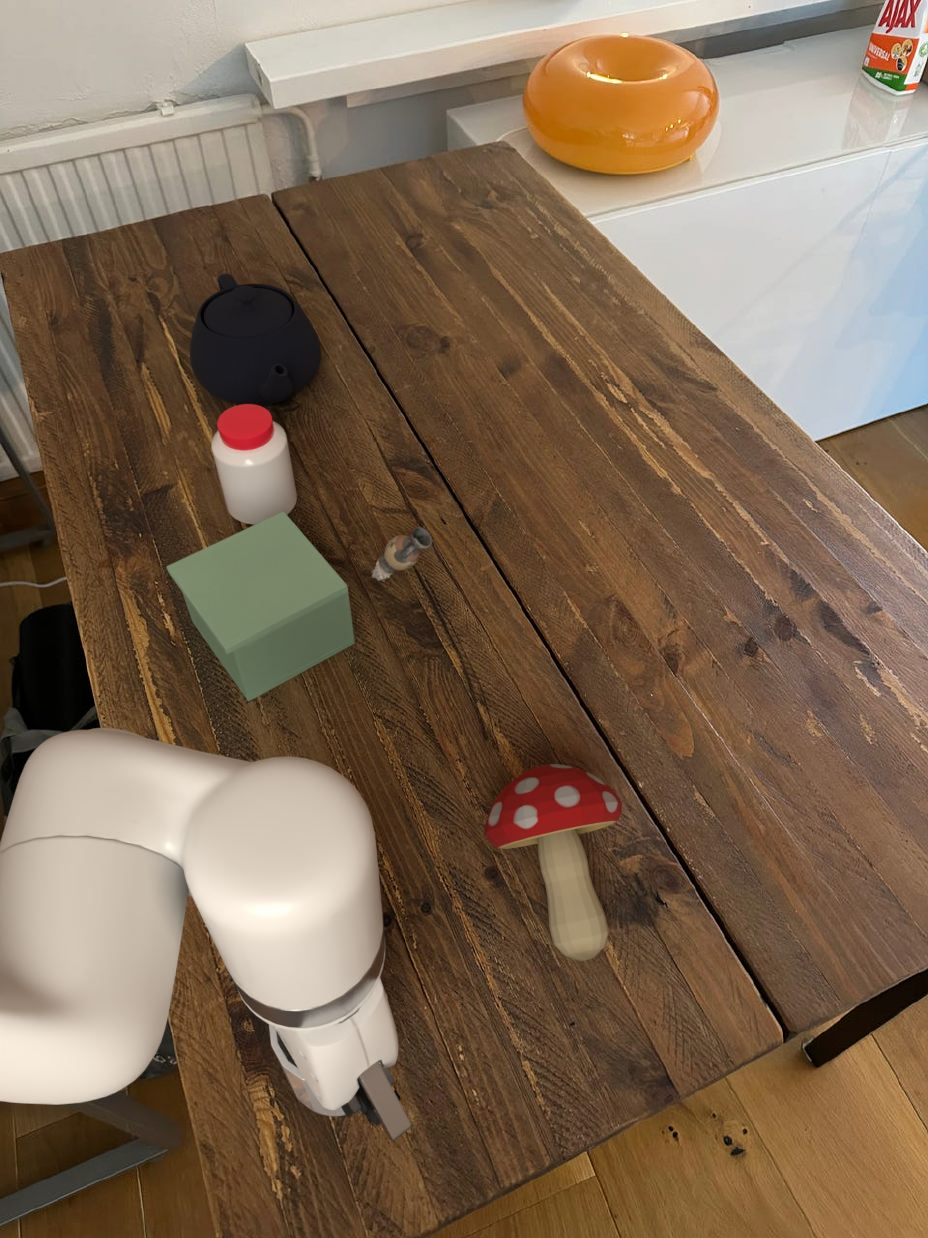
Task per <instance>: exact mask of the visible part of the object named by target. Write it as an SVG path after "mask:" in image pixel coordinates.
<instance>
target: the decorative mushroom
mask: <svg viewBox="0 0 928 1238" xmlns="http://www.w3.org/2000/svg"><path fill="white" fill-rule="evenodd" d="M622 814H623V802H622V801H621V799H620V797H619V796H618V794H617V793H616V792H615V791H614V790H613V788H612V787H611V786H609V785H608V784H607V783H606V782H605V781H604V780H603V779H601V778H599V777H598V776H596V775H594V774H593V773H590V772H589V771H587V770H585V769H581V768H578V767H574V766H571V765H565V764H559V763H552V764H544V765H539V766H536V767H532V768H529V769H527V770H525V771H523V772H522V773H521V774H520V775H518V776H516V777H515V778H514V779H513V780H512V781H510V782H509V783H508V784H507V785H506V786H505V787H503V789H502V790H501V791H500V793H499V794H498V795H497V797H496V798H495V800H494V801H493V803H492V805H491V807H490V809H489V812H488V813H487V817H486V820H485V826H484V836H485V838H486V839H487V841H488V843H489V845H492V846H493V847H495V848H496V849H501V850H503V849H504V850H505V849H508V850H509V849H514V848H515V849H516V848H521V847H523V848H524V847H528V846H532V845H537V853H538V855H537V856H538V861H539V868H540V873H541V875H542V878H543V882H544V884H545V890H546V898H547V912H548V927H549V931H550V935H551V939H552V944H553V945H554V946H555V947H556V948H557V950H558V951H559V952H560V953H561V954H562V956H565V957H567V958H570V959H572V960H575V961H578V962H583V961H588V960H592V959H595V957H597V955H598V954H599V953H600V952H601V951H602V950H603V949H604V948H605V947H606V944H607V941H608V937H609V932H610V930H609V926H608V921H607V917H606V913H605V911H604V909H603V906H602V904H601V902H600V898H599V897H598V894H597V892H596V889H595V887H594V884H593V881H592V877H591V875H590V874H591V873H590V868H589V860H588V857H587V853H586V851H585V848H584V845H583V842H582V840H581V838H580V835H582V834H586V833H590V832H594V831H598V830H601V829H603V828H607V827H609V826H611V825H613V824H616V823H617V822H618V820H619V819H620V817H621V816H622Z"/></svg>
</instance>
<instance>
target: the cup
mask: <svg viewBox="0 0 928 1238" xmlns="http://www.w3.org/2000/svg"><path fill="white" fill-rule="evenodd" d="M268 1029H269V1036H270V1037H269V1038H270V1046H271V1048H272V1051H273V1053H274V1055H275V1057H276V1060H277V1061H278V1064H279V1065H280V1068H281V1070H282V1072H283V1073H284V1076H285V1079H286V1080H287V1083H288V1085H289V1086H290V1088H291V1089H292V1091H293V1094H294V1095H295V1097H296V1098H297V1100H298V1101H299V1102H300V1103H302V1105H304V1106H305V1107H306V1108H307V1109H309V1110H311V1111H313V1112H314V1113H317V1114H319V1115H323V1116H327V1117H341V1116H342V1117H343V1116H346V1115H345V1113H344V1111H343V1110H342V1107H339V1108H338V1109H336V1110H329V1109H326V1108H324V1107H323V1106H322V1105H321V1104H320V1102H319V1101H318V1100H317V1098H316V1097H315V1095H314V1093H313V1092H312V1090H311V1089H310V1087H309V1085H308V1084H307V1082H306V1080H305V1079H304V1077H303V1075H302V1073H301V1072H300V1070H299V1068H298V1067H297V1065H296V1063H295V1062H294V1060H293V1058H292V1056H291V1055H290V1053H289V1051H288V1050H287V1048H286V1046H285V1044H284V1043H283V1041H282V1039H281V1037H280V1036H279V1034H278V1032H277V1030H276V1029H275V1027H274V1026H272V1025H270V1024H268Z"/></svg>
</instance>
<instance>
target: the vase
mask: <svg viewBox="0 0 928 1238" xmlns="http://www.w3.org/2000/svg"><path fill="white" fill-rule="evenodd" d="M432 544H433V539H432V536H431V534H430V532H429V531H428V530H427V529H425V528H424V527H422V526H418V527H416V528H414V529H413V530H412V532H411V536H409V535H405V534H400V535H395V536H394V537H392V538H391V539H390V540H389V541H388V542H387V544H386V545H385V548H384V552H383V553H382V554H380V555H379V557H378V559H377V560H376V563H375V566H374V569H372V571H370V573H371V574H372V575H371V578H372V579H376V581H377V582H379V581H380V582H381V581H382V582H385V580H387V579H390V577H391V575H393V574H394V573H395V572H396V571H405V570H408V569H410V568H412V567H413V566H414V565H416V563H417V562H418V561H419V558H420V551H421V550H427V549H429V548H431V546H432Z"/></svg>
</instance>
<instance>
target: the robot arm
mask: <svg viewBox="0 0 928 1238" xmlns="http://www.w3.org/2000/svg"><path fill="white" fill-rule="evenodd" d="M372 819H373V818H372V815H371V813H370V810H369V807H368V805H367V803H366V802H365V800H364V798H363V797H362V795H361V793H360V792H359V790H358V789H357V788H356V786H354V785H353V784H352V782H350V780H349V779H348V778H346V777H345V776H344V775H343V774H341V773H339V772H338V771H337V770H335V769H333V767H330V766H328V765H326V764H324V763H322V762H319V761H317V760H313V759H309V758H305V757H299V756H273V757H268V758H264V759H259V760H255V761H248V760H243V759H239V758H234V757H230V756H229V757H228V756H224V755H220V754H215V753H210V752H205V751H201V750H197V749H193V748H190V747H184V746H182V745H176V744H172V743H168V742H164V741H162V740H161V741H160V740H156V739H152V738H147V737H145V736H143V735H140V734H138V733H135V732H133V731H132V732H131V731H129V730H125V729H120V728H119V729H118V728H116V727H115V728H113V727H96V728H91V729H74V730H69V731H65V732H61V733H58V734H56V735H53V736H50V737H49V738H47V739H46V740H44V741H43V742H42V743H40V745H38V746H37V747H36V748H35V749H34V750H33V752H32V753H31V754H30V756H29V757H28V758H27V760H26V763H25V764H24V766H23V769H22V772H21V774H20V777H19V779H18V782H17V785H16V788H15V791H14V795H13V797H12V801H11V805H10V809H9V811H8V815H7V818H6V823H5V826H4V827H3V828H4V829H3V832H2V835H1V839H0V1102H6V1103H15V1104H30V1105H31V1104H33V1105H56V1106H57V1105H68V1104H82V1103H86V1102H90V1101H95V1100H99V1099H102V1098H106V1097H108V1096H112V1095H113V1094H115V1093H118V1092H119V1091H121V1090H123V1089H124V1088H126V1087H128V1086H129V1085H130V1084H132V1083H133V1082H134V1081H136V1080H137V1079H138V1078H139V1077H140V1076H141V1075H142V1074H143V1073H144V1072H145V1071H146V1069H147V1067H148V1066H149V1065H150V1064H151V1062H152V1060H153V1059H154V1057H155V1055H156V1054H157V1052H158V1050H159V1047H160V1046H161V1043H162V1041H163V1037H164V1034H165V1031H166V1027H167V1024H168V1023H167V1022H168V1019H169V1013H170V1007H171V1002H172V997H173V991H174V985H175V979H176V973H177V968H178V963H179V956H180V949H181V943H182V937H183V930H184V923H185V916H186V910H187V904H188V899H189V897H190V898H192V899H193V902H194V904H195V906H196V908H197V910H198V912H199V914H200V916H201V918H202V921H203V922H204V924H205V926H206V929H207V931H208V933H209V935H210V938H211V939H212V941H213V943H214V946H215V947H216V949H217V951H218V953H219V956H220V958H221V960H222V962H223V964H224V966H225V968H226V970H227V972H228V974H229V976H230V978H231V980H232V982H233V985H234V986H235V988H236V990H237V992H238V994H239V996H240V998H241V1000H242V1001H243V1003H244V1005H246V1007H247V1008H248V1009H249V1010H250V1011H251V1013H253V1014H254V1015H255V1016H256V1017H258V1019H260V1020H261V1021H263V1022H265V1024H268V1025H269V1024H270V1025H272V1026H274V1027H275V1029H276V1030H277V1032H278V1034H279V1036H280V1037H281V1039H282V1041H283V1043H284V1044H285V1046H286V1048H287V1050H288V1051H289V1053H290V1055H291V1056H292V1058H293V1060H294V1062H295V1063H296V1065H297V1067H298V1068H299V1070H300V1072H301V1073H302V1075H303V1077H304V1079H305V1080H306V1082H307V1084H308V1085H309V1087H310V1089H311V1090H312V1092H313V1093H314V1095H315V1097H316V1098H317V1100H318V1101H319V1102H320V1104H321V1105H322V1106H323V1107H324V1108H326V1109H329V1110H336V1109H338V1108H339V1107H342V1110H343V1111H344V1113H345V1115H344V1116H346V1117H350V1116H351V1115H353V1114H356V1113H358V1112H359V1111H360V1112H361V1113H362V1115H363V1116H365V1117H366V1120H367V1121H368V1123H369V1124H373V1125H375V1126H376V1127H377V1126H379V1125H380V1126H381V1127H382V1129H383V1130H384V1132H385V1133H386V1134H387V1136H388V1137H389V1138H390V1139H391V1141H392V1142H395V1141H396V1140H398V1139H399V1138H400V1137H401V1136H402V1135H404V1134H405V1133H406V1132H407V1131H410V1129H411V1128H412V1127H413V1124H412V1122H411V1121H410V1119H409V1117H408V1115H407V1113H406V1111H405V1109H404V1107H403V1106H402V1103H401V1101H402V1098H401V1097H402V1096H400V1094H399V1092H398V1091H397V1090H396V1089H393V1085H394V1084H396V1082H395V1079H394V1077H393V1074H392V1072H391V1069H390V1068H391V1067H393V1066H395V1065H396V1062H397V1061H398V1057H399V1050H400V1048H399V1038H398V1032H397V1027H396V1023H395V1020H394V1017H393V1014H392V1010H391V1009H392V1008H391V1006H390V1003H389V1000H388V999H389V996H388V994H387V993H386V991H385V988H384V985H383V982H382V979H381V976H382V973H383V969H384V964H385V959H386V938H385V937H386V936H385V926H384V915H383V905H382V896H381V894H382V893H381V884H380V883H381V882H380V873H379V872H380V871H379V861H378V850H377V839H376V833H375V828H374V823H373V820H372Z"/></svg>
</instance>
